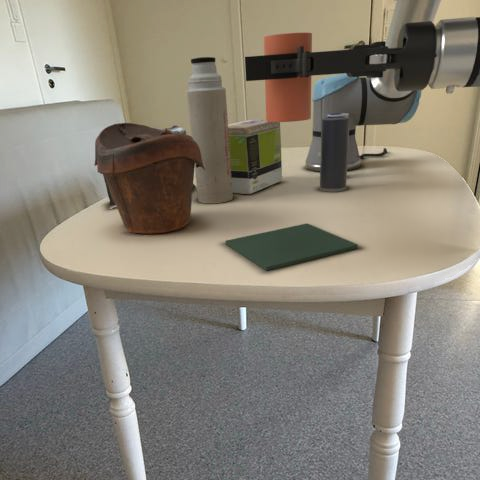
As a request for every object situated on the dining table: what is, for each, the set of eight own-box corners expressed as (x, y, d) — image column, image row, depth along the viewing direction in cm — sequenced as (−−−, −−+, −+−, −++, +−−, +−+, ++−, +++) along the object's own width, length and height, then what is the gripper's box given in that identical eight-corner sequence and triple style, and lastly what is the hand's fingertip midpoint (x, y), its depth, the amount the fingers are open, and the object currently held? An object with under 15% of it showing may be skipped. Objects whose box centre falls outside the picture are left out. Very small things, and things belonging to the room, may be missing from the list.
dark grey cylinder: (335, 184, 107) (338, 116, 100) (352, 189, 102) (356, 117, 95) (314, 188, 105) (315, 119, 98) (329, 193, 100) (332, 120, 93)
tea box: (250, 179, 119) (247, 119, 112) (283, 182, 113) (282, 118, 106) (215, 191, 108) (210, 126, 101) (250, 195, 103) (246, 126, 96)
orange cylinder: (295, 117, 66) (295, 37, 61) (319, 118, 61) (321, 31, 56) (258, 120, 64) (255, 38, 59) (280, 123, 59) (279, 33, 54)
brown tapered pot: (197, 239, 77) (185, 127, 68) (90, 239, 80) (65, 132, 72) (219, 211, 92) (211, 116, 83) (128, 212, 96) (112, 122, 87)
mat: (307, 226, 79) (307, 223, 79) (357, 248, 68) (358, 244, 68) (225, 244, 74) (225, 240, 73) (266, 271, 63) (266, 267, 62)
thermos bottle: (236, 194, 104) (227, 56, 91) (228, 203, 98) (217, 55, 84) (203, 195, 106) (190, 59, 93) (193, 203, 99) (177, 58, 86)
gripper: (444, 92, 50) (240, 104, 53) (413, 87, 66) (259, 97, 70) (455, 11, 46) (236, 30, 50) (420, 27, 63) (257, 41, 66)
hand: (249, 69), depth 60 cm, fingers closed on orange cylinder, 6 cm apart
